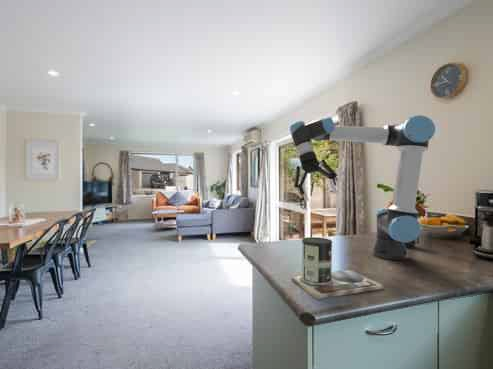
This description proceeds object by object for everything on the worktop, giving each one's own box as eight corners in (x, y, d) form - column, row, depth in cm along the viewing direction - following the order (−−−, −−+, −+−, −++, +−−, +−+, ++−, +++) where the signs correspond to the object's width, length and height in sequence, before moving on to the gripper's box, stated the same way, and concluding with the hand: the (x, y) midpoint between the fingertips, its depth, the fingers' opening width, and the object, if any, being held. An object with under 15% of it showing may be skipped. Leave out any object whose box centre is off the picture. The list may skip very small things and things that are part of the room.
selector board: (350, 272, 104) (350, 269, 104) (382, 288, 88) (382, 284, 88) (291, 280, 95) (291, 276, 95) (316, 299, 80) (317, 294, 80)
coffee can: (330, 276, 96) (330, 237, 96) (333, 286, 86) (333, 244, 86) (301, 273, 98) (302, 236, 98) (301, 283, 88) (301, 242, 88)
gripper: (328, 150, 126) (343, 191, 122) (279, 162, 124) (293, 205, 119) (334, 144, 119) (350, 188, 115) (282, 157, 116) (297, 203, 112)
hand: (321, 197), depth 117 cm, fingers open, 13 cm apart
